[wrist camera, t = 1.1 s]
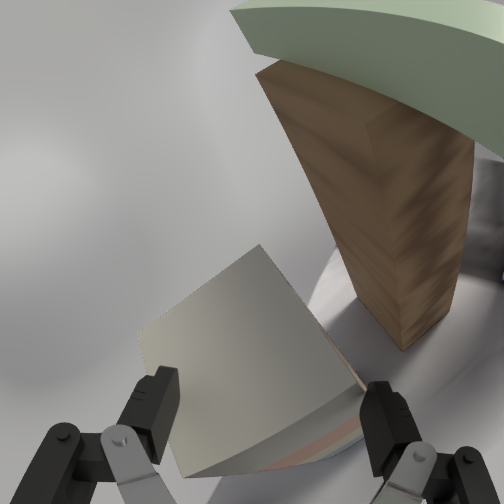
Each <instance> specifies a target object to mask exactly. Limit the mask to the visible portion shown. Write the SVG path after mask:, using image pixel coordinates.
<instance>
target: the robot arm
mask: <svg viewBox="0 0 504 504" xmlns="http://www.w3.org/2000/svg"><path fill="white" fill-rule="evenodd" d="M179 403H180V386H179V374H178V369H177V368H174V367H168V366H162V365H160V366H159V367H158V369H157V371H156V373H155V375H154V376H150V375H146V376H145V377H144V378H142V379H141V380H139V382H138V383H137V385H136V387H135V389H134V392H132V394H131V396H130V399H129V400H128V402H127V404H126V406H125V408H124V410H123V412H122V414H121V416H120V418H119V420H118V422H117V424H116V425H113V426H110V427H108V428H106V429H105V430H104V431H103V433H80V431H79V429H78V428H77V427H76V426H75V425H73V424H70V423H65V422H64V423H58V424H56V425H54V426H52V427H51V428H50V429H49V431H48V433H47V434H46V436H45V438H44V440H43V441H42V443H41V445H40V447H39V449H38V450H37V452H36V454H35V456H34V458H33V460H32V461H31V463H30V465H29V467H28V469H27V471H26V473H25V474H24V476H23V478H22V480H21V482H20V484H19V486H18V488H17V490H16V492H15V494H14V496H13V498H12V500H11V502H10V504H90V501H91V498H92V496H93V493H94V490H95V488H96V485H97V482H117V486H118V488H119V491H120V493H121V495H122V497H123V499H124V502H125V504H176V502H175V500H174V499H173V497H172V496H171V494H170V492H169V490H168V489H167V487H166V485H165V483H164V482H163V480H162V478H161V477H160V475H159V474H158V473H156V471H155V469H154V468H153V466H152V464H151V463H153V464H157V465H160V462H161V459H162V456H163V452H164V450H165V447H166V444H167V441H168V438H169V435H170V432H171V429H172V426H173V423H174V420H175V417H176V414H177V411H178V408H179ZM359 417H360V422H361V426H362V430H363V434H364V438H365V442H366V446H367V450H368V455H369V459H370V463H371V467H372V472H373V476H374V477H381V476H383V479H384V482H383V483H382V485H381V486H380V488H379V490H378V491H377V493H376V494H375V496H374V497H373V499H372V501H371V502H370V504H421V502H422V499H426V502H427V504H500V501H499V499H498V496H497V493H496V490H495V487H494V485H493V482H492V480H491V477H490V475H489V472H488V470H487V467H486V465H485V462H484V460H483V458H482V455H481V454H480V452H479V451H478V450H476V449H475V448H473V447H469V446H465V447H461V448H459V449H458V450H457V451H456V453H455V454H444V453H437V452H436V450H435V449H434V448H433V447H432V446H431V445H430V444H428V443H426V442H423V441H422V438H421V436H420V434H419V431H418V429H417V426H416V424H415V421H414V419H413V417H412V414H411V412H410V410H409V407H408V405H407V402H406V400H405V399H404V398H403V397H402V396H401V395H400V394H399V393H398V392H392V389H391V387H390V384H389V382H388V381H373V382H370V383H369V385H368V388H367V391H366V393H365V396H364V399H363V401H362V404H361V407H360V412H359Z"/></svg>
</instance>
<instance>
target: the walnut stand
mask: <svg viewBox="0 0 504 504" xmlns="http://www.w3.org/2000/svg"><path fill="white" fill-rule="evenodd" d="M255 75H256V77H257V79H258V81H259V82H260V84H261V86H262V88H263V90H264V92H265V94H266V96H267V98H268V99H269V101H270V103H271V105H272V107H273V109H274V111H275V113H276V115H277V117H278V119H279V121H280V122H281V124H282V126H283V129H284V130H285V132H286V134H287V137H288V139H289V141H290V143H291V144H292V147H293V149H294V151H295V153H296V155H297V157H298V159H299V161H300V163H301V165H302V167H303V169H304V172H305V174H306V176H307V178H308V180H309V182H310V184H311V187H312V189H313V191H314V193H315V195H316V198H317V200H318V202H319V205H320V207H321V209H322V211H323V213H324V216H325V218H326V220H327V223H328V225H329V227H330V230H331V232H332V235H333V237H334V239H335V242H336V244H337V246H338V249H339V251H340V254H341V256H342V259H343V261H344V264H345V266H346V269H347V271H348V274H349V276H350V279H351V281H352V284H353V287H354V289H355V292H356V294H357V297H358V298H359V299H360V300H361V302H362V303H363V304H364V305H365V306H366V308H367V309H368V310H369V311H370V312H371V314H372V315H373V316H374V317H375V318H376V320H377V321H378V322H379V323H380V325H381V326H382V327H383V328H384V330H385V331H386V332H387V333H388V335H389V336H390V337H391V338H392V340H393V341H394V342H395V343H396V345H397V346H398V347H399V348H400V350H401V351H402V352H403V351H404V350H405V349H407V348H408V347H409V346H410V345H411V344H413V343H414V342H415V341H416V340H417V339H419V338H420V337H421V336H422V335H423V334H424V333H425V332H427V331H428V330H429V329H430V328H431V327H432V326H433V325H434V324H436V323H437V322H438V321H439V320H440V319H441V318H442V317H443V316H444V315H445V314H446V313H447V312H449V310H450V307H451V303H452V299H453V295H454V291H455V287H456V283H457V278H458V274H459V269H460V264H461V259H462V254H463V249H464V243H465V237H466V231H467V224H468V217H469V209H470V201H471V191H472V180H473V166H474V145H475V142H474V141H475V140H473V139H471V138H469V137H468V136H466V135H464V134H463V133H461V132H459V131H457V130H455V129H454V128H452V127H450V126H448V125H446V124H444V123H443V122H441V121H439V120H437V119H435V118H433V117H431V116H429V115H427V114H425V113H423V112H421V111H419V110H417V109H415V108H412V107H410V106H408V105H406V104H404V103H402V102H399V101H397V100H395V99H393V98H390V97H388V96H386V95H383V94H381V93H378V92H376V91H374V90H371V89H369V88H366V87H363V86H361V85H358V84H356V83H353V82H350V81H347V80H345V79H342V78H339V77H336V76H333V75H330V74H327V73H324V72H321V71H318V70H315V69H312V68H308V67H305V66H302V65H298V64H295V63H291V62H287V61H284V60H279V61H277V62H276V63H274V64H272V65H270V66H269V67H267V68H265V69H263V70H262V71H260V72H258V73H257V74H255Z"/></svg>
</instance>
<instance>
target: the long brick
mask: <svg viewBox="0 0 504 504" xmlns="http://www.w3.org/2000/svg"><path fill="white" fill-rule="evenodd" d="M230 12H231V14H232V15H233V17H234V19H235V21H236V22H237V24H238V25H239V27H240V29H241V31H242V33H243V34H244V36H245V38H246V39H247V41H248V43H249V45H250V47H251V48H252V50H253V52H254V53H256V54H260V55H264V56H268V57H272V58H276V59H280V60H284V61H287V62H291V63H295V64H298V65H302V66H305V67H308V68H312V69H315V70H318V71H321V72H324V73H327V74H330V75H333V76H336V77H339V78H342V79H345V80H347V81H350V82H353V83H356V84H358V85H361V86H363V87H366V88H369V89H371V90H374V91H376V92H378V93H381V94H383V95H386V96H388V97H390V98H393V99H395V100H397V101H399V102H402V103H404V104H406V105H408V106H410V107H412V108H415V109H417V110H419V111H421V112H423V113H425V114H427V115H429V116H431V117H433V118H435V119H437V120H439V121H441V122H443V123H444V124H446V125H448V126H450V127H452V128H454V129H455V130H457V131H459V132H461V133H463V134H464V135H466V136H468V137H469V138H471V139H473V140H475V141H476V142H478V143H479V144H481V145H483V146H484V147H486V148H488V149H489V150H491V151H492V152H494V153H496V154H497V155H499V156H500V157H502V158H503V159H504V6H503V5H500V4H497V3H493V2H489V1H485V0H249V1H247V2H244V3H243V4H241V5H238V6H236V7H234V8H233V9H231V10H230Z"/></svg>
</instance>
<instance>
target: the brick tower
mask: <svg viewBox="0 0 504 504" xmlns="http://www.w3.org/2000/svg"><path fill="white" fill-rule="evenodd" d="M137 338H138V342H139V346H140V350H141V354H142V358H143V361H144V365H145V369H146V372H147V375H150V376H154V375H155V373H156V371H157V369H158V367H159V366H160V365H162V366H168V367H174V368H177V369H178V374H179V386H180V403H179V408H178V411H177V414H176V417H175V420H174V423H173V426H172V429H171V432H170V435H169V438H168V441H169V444H170V446H171V449H172V452H173V454H174V457H175V460H176V462H177V465H178V468H179V470H180V473H181V475H182V477H183V478H200V477H216V476H228V475H238V474H246V473H254V472H261V471H268V470H274V469H280V468H286V467H291V466H296V465H301V464H306V463H311V462H315V461H320V460H324V459H328V458H332V457H333V456H335V455H337V454H339V453H340V452H342V451H344V450H345V449H347V448H348V447H350V446H352V445H353V444H355V443H356V442H358V441H360V440H361V439H363V438H364V434H363V430H362V426H361V422H360V417H359V412H360V407H361V404H362V401H363V399H364V396H365V393H366V391H367V387H366V386H365V385H364V383H363V382H362V380H361V379H360V377H359V376H358V375H357V373H356V372H355V370H354V369H353V368H352V366H351V365H350V364H349V362H348V361H347V360H346V358H345V357H344V356H343V354H342V353H341V352H340V350H339V349H338V348H337V346H336V345H335V344H334V342H333V341H332V339H331V338H330V337H329V335H328V334H327V333H326V331H325V330H324V329H323V327H322V326H321V325H320V323H319V322H318V321H317V319H316V318H315V317H314V315H313V314H312V313H311V311H310V310H309V309H308V308H307V306H306V305H305V304H304V302H303V301H302V300H301V298H300V297H299V296H298V294H297V293H296V292H295V290H294V289H293V288H292V286H291V285H290V284H289V282H288V281H287V280H286V279H285V277H284V276H283V274H282V273H281V272H280V271H279V269H278V268H277V267H276V265H275V264H274V263H273V261H272V260H271V259H270V257H269V256H268V255H267V254H266V252H265V251H264V249H263V248H262V247H261V245H260V244H259V245H257V246H256V247H254V248H253V249H252V250H250V251H249V252H248V253H246V254H245V255H244V256H242V257H241V258H239V259H238V260H237V261H235V262H234V263H233V264H231V265H230V266H229V267H227V268H226V269H225V270H223V271H222V272H221V273H219V274H218V275H216V276H215V277H214V278H212V279H211V280H210V281H208V282H207V283H206V284H204V285H203V286H201V287H200V288H199V289H197V290H196V291H195V292H193V293H192V294H191V295H189V296H188V297H187V298H185V299H184V300H183V301H181V302H180V303H178V304H177V305H176V306H174V307H173V308H172V309H170V310H169V311H168V312H166V313H165V314H164V315H162V316H161V317H160V318H158V319H157V320H156V321H154V322H153V323H151V324H150V325H149V326H147V327H146V328H145V329H143V330H142V331H141V332H139V333H138V334H137Z"/></svg>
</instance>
